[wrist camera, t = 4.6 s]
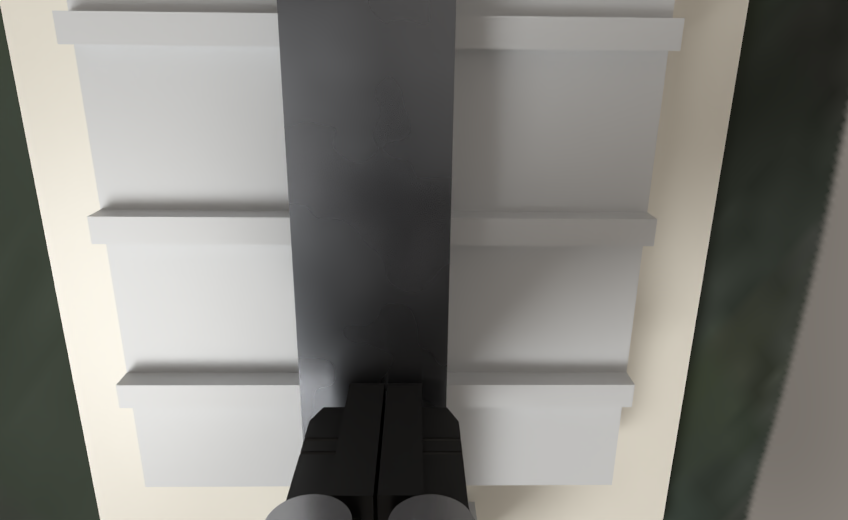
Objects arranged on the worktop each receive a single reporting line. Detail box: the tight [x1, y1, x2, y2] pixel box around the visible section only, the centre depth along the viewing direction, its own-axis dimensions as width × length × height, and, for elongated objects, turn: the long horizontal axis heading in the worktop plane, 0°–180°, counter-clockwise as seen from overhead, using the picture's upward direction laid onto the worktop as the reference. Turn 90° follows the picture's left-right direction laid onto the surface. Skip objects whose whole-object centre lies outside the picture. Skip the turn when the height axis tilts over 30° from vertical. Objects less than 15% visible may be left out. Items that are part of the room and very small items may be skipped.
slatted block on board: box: [0, 0, 749, 520], centre depth 14 cm, size 22×17×6 cm
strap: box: [277, 0, 456, 441], centre depth 12 cm, size 21×3×1 cm, turn 179°
